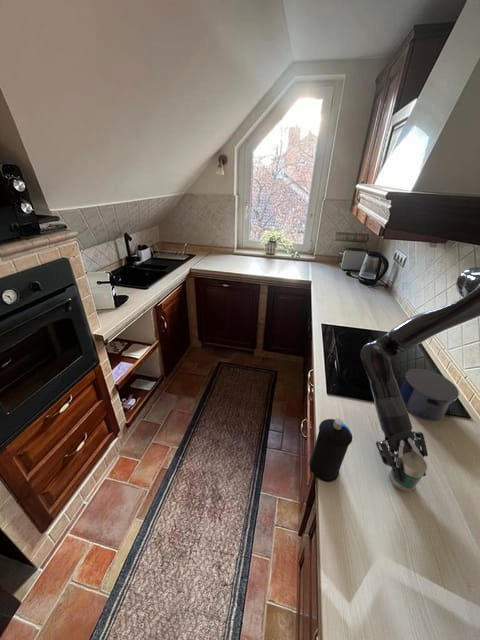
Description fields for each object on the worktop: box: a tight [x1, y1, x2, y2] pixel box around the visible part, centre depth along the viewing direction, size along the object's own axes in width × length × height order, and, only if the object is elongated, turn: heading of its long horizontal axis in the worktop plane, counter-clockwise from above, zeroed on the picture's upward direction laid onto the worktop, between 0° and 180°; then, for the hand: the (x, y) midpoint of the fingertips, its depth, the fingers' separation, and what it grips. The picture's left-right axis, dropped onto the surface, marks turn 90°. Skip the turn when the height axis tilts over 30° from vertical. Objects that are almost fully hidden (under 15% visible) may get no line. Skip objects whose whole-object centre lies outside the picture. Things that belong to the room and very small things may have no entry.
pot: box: [399, 368, 460, 421], centre depth 92 cm, size 16×18×10 cm
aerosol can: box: [309, 417, 353, 483], centre depth 68 cm, size 8×8×20 cm
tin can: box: [388, 451, 428, 493], centre depth 68 cm, size 6×6×10 cm
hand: (411, 478), depth 67 cm, fingers closed on tin can, 6 cm apart
